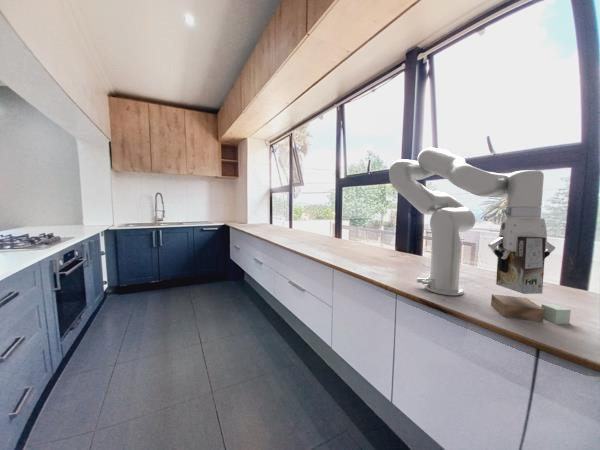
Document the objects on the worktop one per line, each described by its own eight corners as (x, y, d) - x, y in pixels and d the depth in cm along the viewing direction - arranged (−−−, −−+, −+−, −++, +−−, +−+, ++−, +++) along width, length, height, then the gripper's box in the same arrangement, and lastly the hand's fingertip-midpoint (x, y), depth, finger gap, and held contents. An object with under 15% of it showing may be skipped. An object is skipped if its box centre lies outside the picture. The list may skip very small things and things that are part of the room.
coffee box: (544, 293, 68) (548, 237, 67) (523, 294, 68) (527, 237, 67) (512, 283, 77) (516, 234, 76) (494, 284, 77) (497, 234, 76)
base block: (503, 317, 71) (504, 304, 70) (490, 306, 79) (491, 294, 79) (542, 323, 68) (544, 309, 67) (525, 310, 76) (526, 297, 76)
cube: (555, 323, 67) (556, 309, 66) (540, 317, 71) (541, 304, 70) (569, 323, 67) (570, 309, 67) (553, 317, 71) (554, 304, 70)
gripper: (496, 213, 69) (492, 273, 70) (570, 214, 66) (564, 277, 67) (482, 212, 76) (479, 267, 78) (548, 213, 73) (543, 271, 74)
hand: (518, 272), depth 72 cm, fingers closed on coffee box, 7 cm apart
